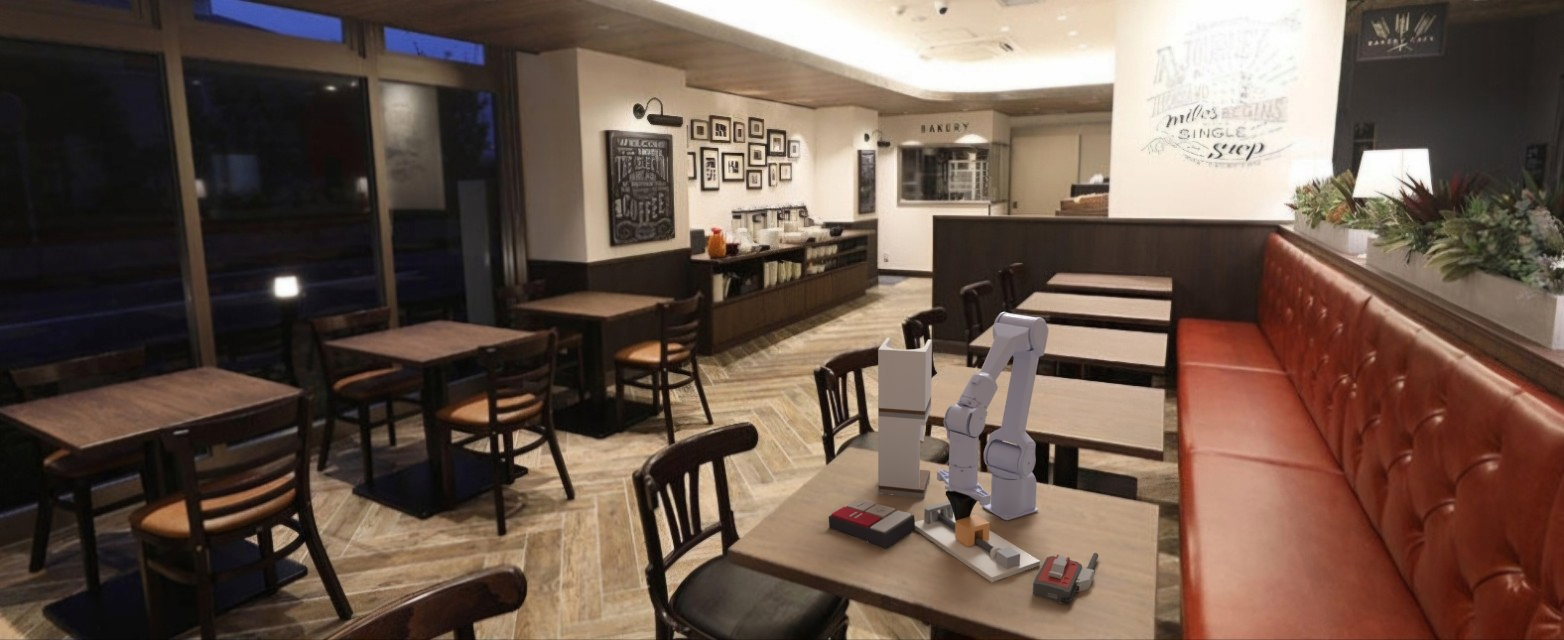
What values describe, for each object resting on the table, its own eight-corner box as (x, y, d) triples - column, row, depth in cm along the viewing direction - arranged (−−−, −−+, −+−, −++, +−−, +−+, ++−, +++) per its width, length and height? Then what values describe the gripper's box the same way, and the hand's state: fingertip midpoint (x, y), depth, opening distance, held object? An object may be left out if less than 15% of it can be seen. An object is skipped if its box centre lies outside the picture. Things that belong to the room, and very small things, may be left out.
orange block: (975, 532, 164) (976, 514, 163) (989, 540, 160) (989, 522, 160) (955, 538, 162) (955, 520, 161) (968, 546, 158) (968, 528, 157)
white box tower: (923, 498, 183) (925, 351, 175) (878, 493, 186) (878, 349, 179) (929, 478, 194) (931, 339, 186) (886, 474, 197) (887, 337, 189)
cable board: (956, 514, 175) (956, 496, 174) (1039, 565, 153) (1040, 545, 152) (911, 527, 169) (911, 509, 168) (991, 582, 148) (992, 561, 147)
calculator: (858, 496, 178) (915, 511, 168) (859, 514, 178) (915, 530, 168) (827, 513, 170) (885, 530, 160) (828, 532, 171) (886, 550, 160)
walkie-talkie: (1080, 614, 138) (1101, 561, 154) (1081, 591, 137) (1103, 541, 153) (1028, 600, 142) (1055, 551, 159) (1029, 577, 141) (1056, 530, 158)
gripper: (925, 454, 165) (924, 514, 168) (971, 479, 152) (969, 543, 155) (952, 448, 168) (951, 507, 171) (999, 471, 155) (997, 535, 158)
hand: (961, 524), depth 163 cm, fingers closed
